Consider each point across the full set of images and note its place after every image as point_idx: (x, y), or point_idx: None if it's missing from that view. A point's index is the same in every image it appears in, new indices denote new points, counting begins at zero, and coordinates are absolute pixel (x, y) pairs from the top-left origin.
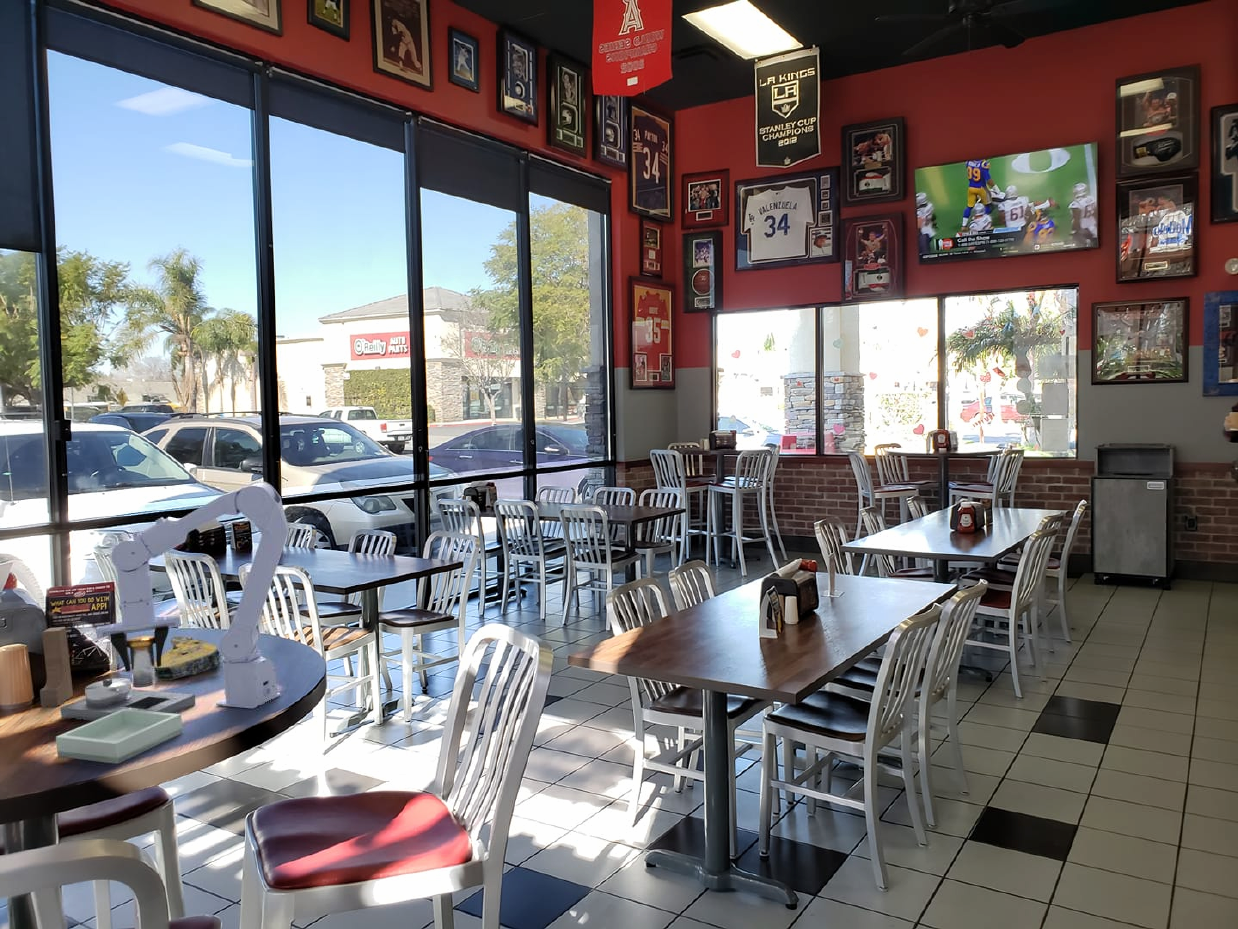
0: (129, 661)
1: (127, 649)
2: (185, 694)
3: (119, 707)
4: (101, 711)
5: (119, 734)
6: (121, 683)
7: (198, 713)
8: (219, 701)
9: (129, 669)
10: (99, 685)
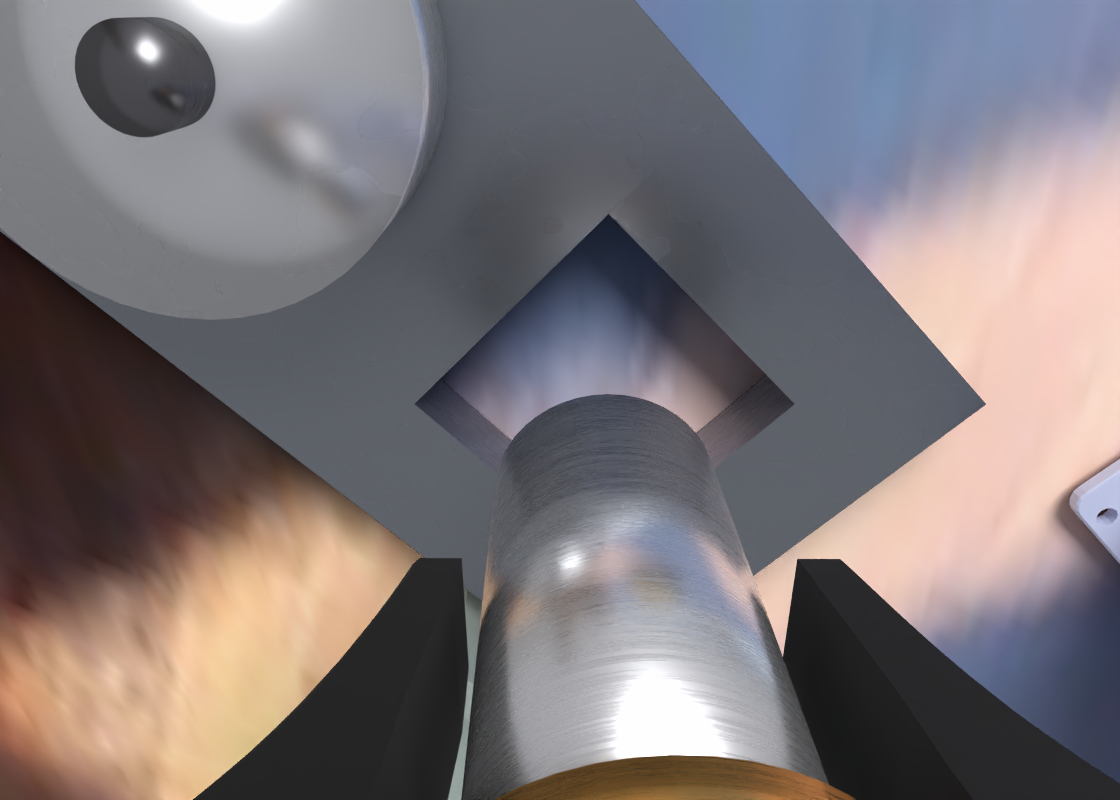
0: (445, 644)
1: (395, 777)
2: (921, 352)
3: (388, 402)
4: (257, 426)
5: (461, 791)
6: (328, 124)
7: (922, 571)
8: (1110, 483)
9: (464, 691)
10: (58, 45)
